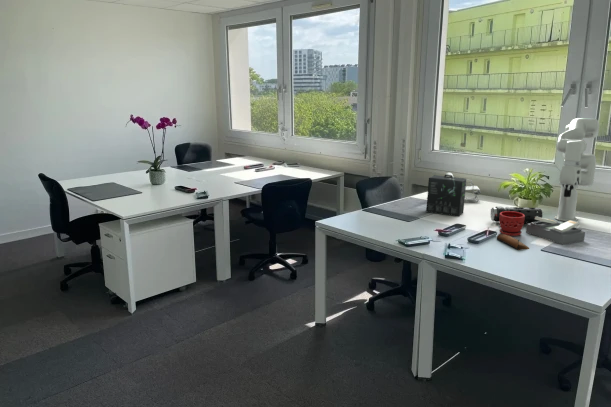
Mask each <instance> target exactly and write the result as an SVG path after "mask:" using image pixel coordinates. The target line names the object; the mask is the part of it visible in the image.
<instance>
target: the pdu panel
mask: <svg viewBox="0 0 611 407" xmlns="http://www.w3.org/2000/svg"><path fill="white" fill-rule="evenodd" d="M556 222H557V223H556V224H552V223H547V222H543V221H539V222H532V223H526V228H525V229H526V230H525V232H526V233H527V234H530V235H533V236H536V237H539V238H542V239H544V240H548V241H551V242H554V243H557V244H560V245H562V246H563V245H569V243H570V244H574V243H580V242H584V241H585V236H586V231H582V229H581V228H577V227H576V226H575V227H573V228H571V229H569V230H567V231H565V232H560V231H557V230H554V228H555V227H557V226H559V225H561V224H562V223H561V222H558V221H556Z"/></svg>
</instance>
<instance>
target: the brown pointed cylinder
mask: <svg viewBox="0 0 611 407" xmlns="http://www.w3.org/2000/svg"><path fill="white" fill-rule="evenodd" d="M497 240H498V241H500V242H503V243H505V244H507V245H509V246H510V247H512V248H514V249H516V250H517V251H523V250H530V247H529V246H528V245H526V243H525V244H524V243H523V242H522V241H520V239H518V238H516V237H514V236H508V235H504V234H502V233H499V234H498V235H497V236H496V241H497Z"/></svg>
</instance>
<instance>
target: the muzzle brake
mask: <svg viewBox="0 0 611 407" xmlns="http://www.w3.org/2000/svg"><path fill="white" fill-rule="evenodd" d="M504 211H514V212H519V213H522V214H524V215H525V219H524V224H530V223H532V222H539V220H536V219H535V216H536V217H540V218H543V210H542V208H541V207H512V206H510V207H508V206H506V207H504V206H495V207H491V209H490V219H491V221H493V222H495V223H499V216H500V213H501V212H504ZM507 217H509V216H507ZM514 217H515V216H514Z"/></svg>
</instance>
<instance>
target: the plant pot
mask: <svg viewBox="0 0 611 407" xmlns="http://www.w3.org/2000/svg"><path fill="white" fill-rule="evenodd" d="M507 216H509V217H507ZM514 216H515V217H514ZM524 219H525V215H524V214H522V213H519V212H514V211H504V212H501V213H500V216H499V222H498V223H499V227H500V228H499V232H500V234H504V235H508V236H511V237H518V236H520V235H522V231H523V230H522V229H523V227H524V224H525V223H524Z"/></svg>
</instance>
